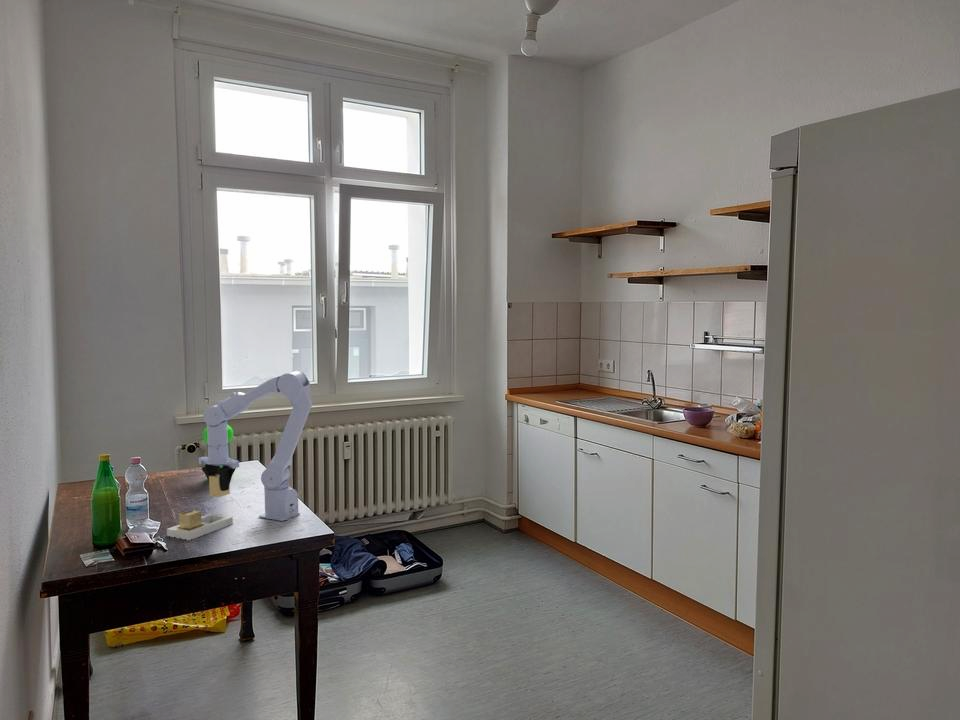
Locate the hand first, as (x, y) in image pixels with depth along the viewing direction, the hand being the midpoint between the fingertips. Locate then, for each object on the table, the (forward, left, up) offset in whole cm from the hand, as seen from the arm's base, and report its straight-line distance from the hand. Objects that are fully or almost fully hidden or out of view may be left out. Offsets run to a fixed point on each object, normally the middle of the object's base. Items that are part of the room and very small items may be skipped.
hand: (219, 489), depth 203 cm
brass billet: (0, 0, -2) cm, 2 cm away
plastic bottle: (+34, -32, -8) cm, 47 cm away
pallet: (-5, +12, -8) cm, 15 cm away
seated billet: (-5, +16, -8) cm, 18 cm away
